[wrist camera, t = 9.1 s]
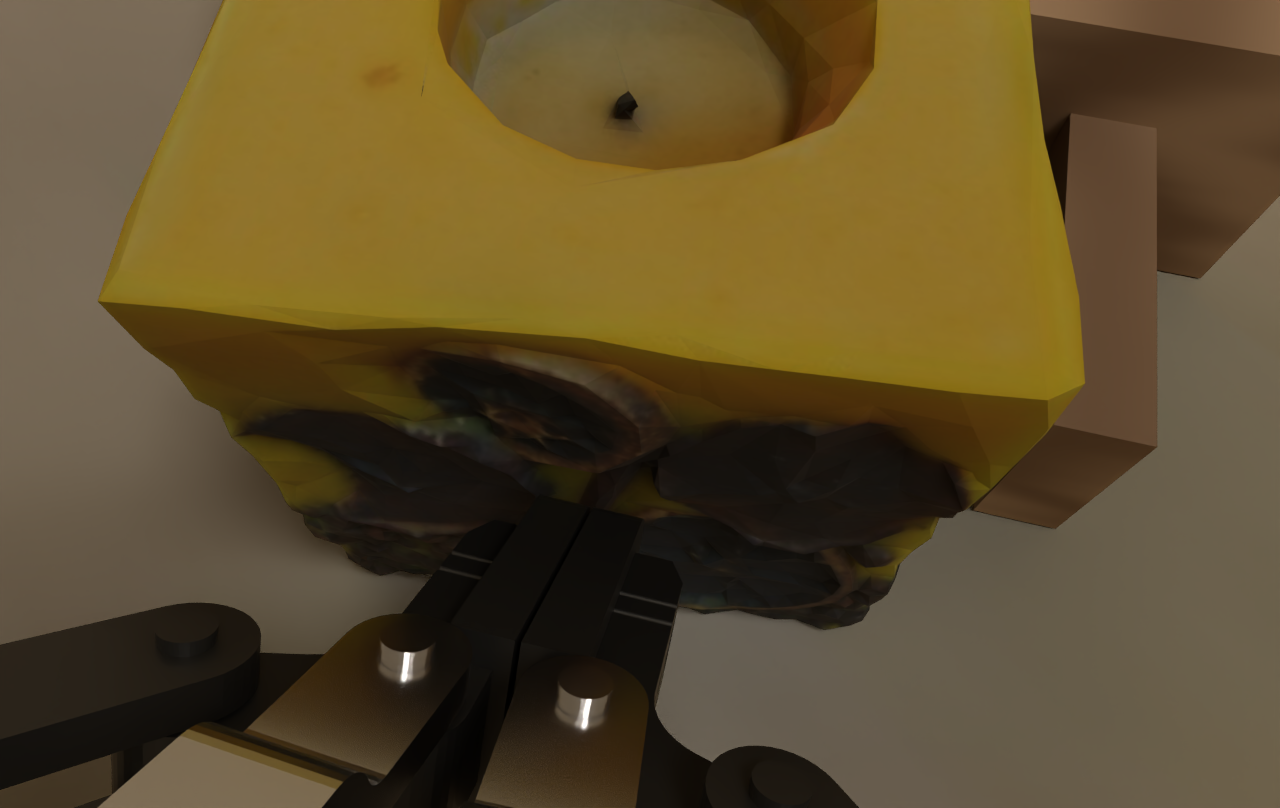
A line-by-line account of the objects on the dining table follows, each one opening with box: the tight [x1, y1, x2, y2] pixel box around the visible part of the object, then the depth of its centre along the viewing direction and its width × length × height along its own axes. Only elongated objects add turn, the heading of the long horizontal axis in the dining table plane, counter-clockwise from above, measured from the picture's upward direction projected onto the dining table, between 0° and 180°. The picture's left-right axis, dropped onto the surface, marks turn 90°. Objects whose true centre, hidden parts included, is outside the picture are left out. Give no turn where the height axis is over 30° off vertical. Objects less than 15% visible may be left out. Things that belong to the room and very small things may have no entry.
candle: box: [98, 0, 1085, 630], centre depth 15 cm, size 10×10×10 cm
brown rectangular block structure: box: [973, 0, 1280, 529], centre depth 18 cm, size 22×8×6 cm, turn 76°
